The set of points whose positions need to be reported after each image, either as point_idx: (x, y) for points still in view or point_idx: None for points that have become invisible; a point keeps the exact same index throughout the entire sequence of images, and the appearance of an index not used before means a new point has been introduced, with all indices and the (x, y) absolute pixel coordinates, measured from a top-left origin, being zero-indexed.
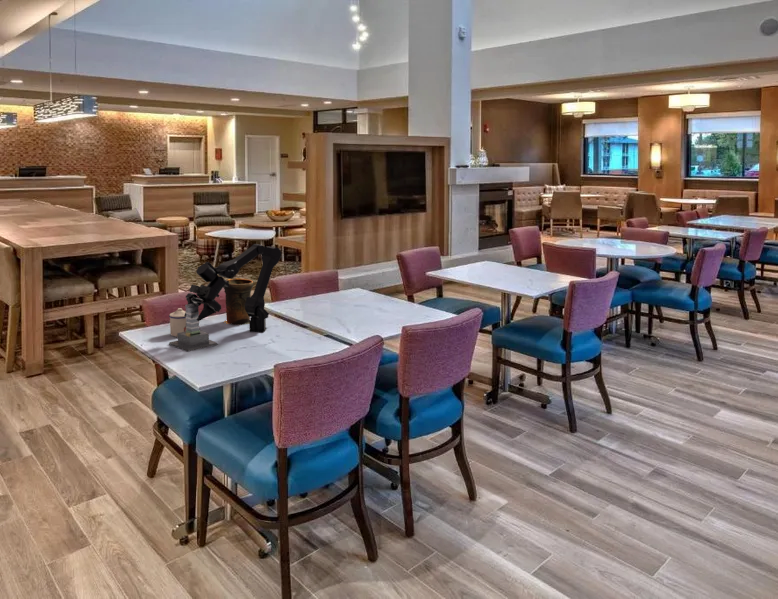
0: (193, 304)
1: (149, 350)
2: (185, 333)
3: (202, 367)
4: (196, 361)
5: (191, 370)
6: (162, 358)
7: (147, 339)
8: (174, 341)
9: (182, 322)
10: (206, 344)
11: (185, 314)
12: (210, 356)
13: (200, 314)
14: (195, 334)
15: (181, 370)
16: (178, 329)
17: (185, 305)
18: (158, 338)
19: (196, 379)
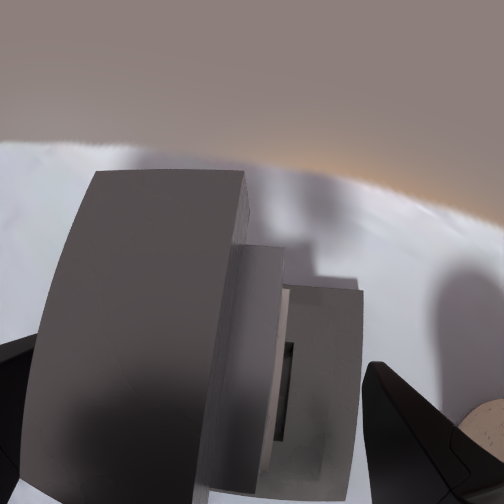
0: (71, 356)
1: (333, 181)
2: (293, 353)
3: (17, 198)
4: (54, 218)
5: (34, 166)
6: (185, 158)
7: (501, 275)
8: (357, 322)
9: (498, 451)
10: None
11: (376, 372)
12: (40, 292)
13: (18, 344)
14: (277, 437)
15: (56, 148)
16: (483, 423)
17: (226, 180)
18: (493, 322)
19: (6, 149)
